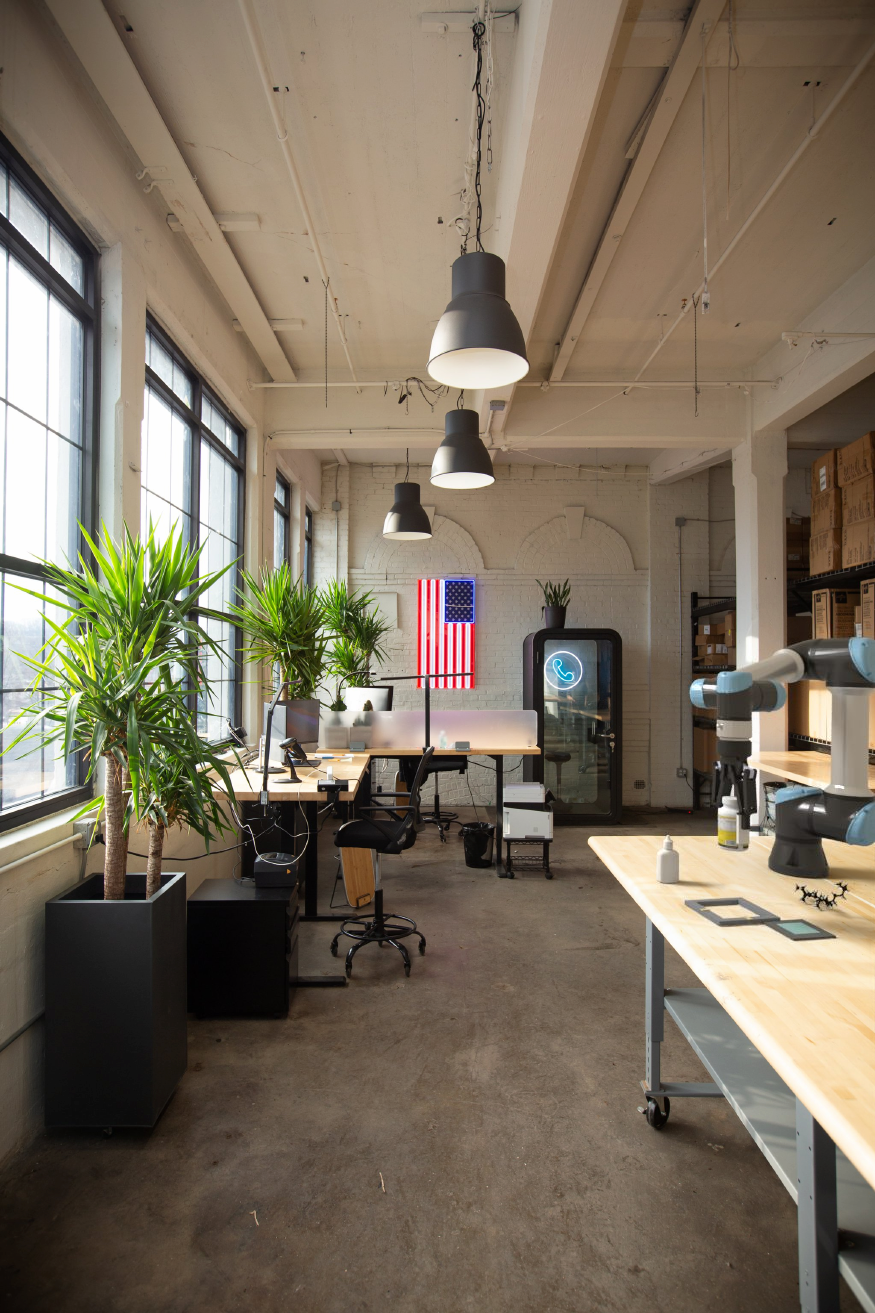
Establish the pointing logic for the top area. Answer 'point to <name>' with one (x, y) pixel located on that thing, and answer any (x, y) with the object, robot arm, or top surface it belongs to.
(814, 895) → the molecular model
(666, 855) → the eye dropper bottle
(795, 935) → the mat
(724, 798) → the pill bottle
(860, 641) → the robot arm
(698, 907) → the socket plate
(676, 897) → the top surface
